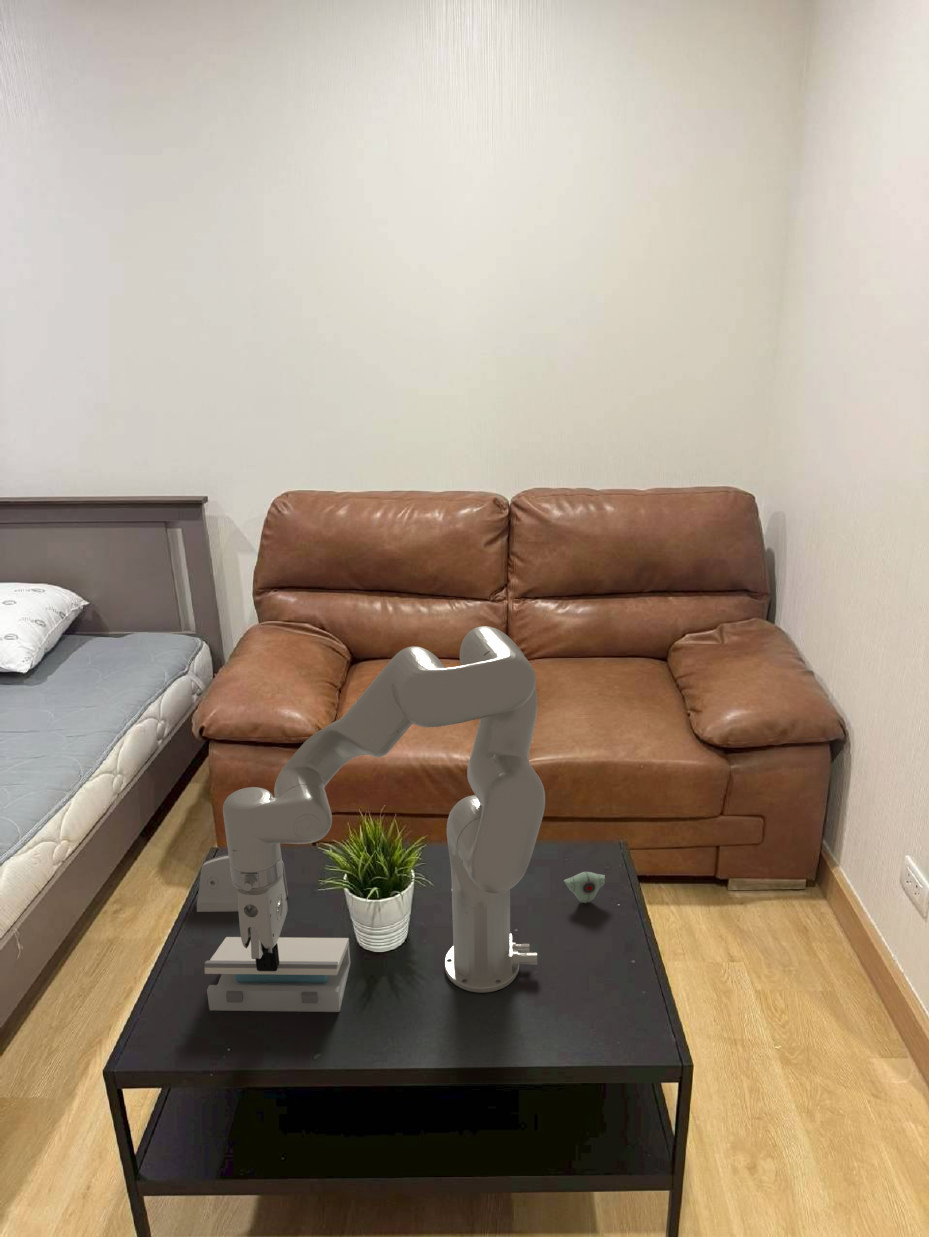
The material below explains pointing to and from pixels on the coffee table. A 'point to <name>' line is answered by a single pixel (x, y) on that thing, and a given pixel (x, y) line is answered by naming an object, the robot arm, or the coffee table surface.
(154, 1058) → the coffee table surface
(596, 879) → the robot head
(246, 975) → the teal rod
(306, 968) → the cover
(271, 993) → the grey hinged box
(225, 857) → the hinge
